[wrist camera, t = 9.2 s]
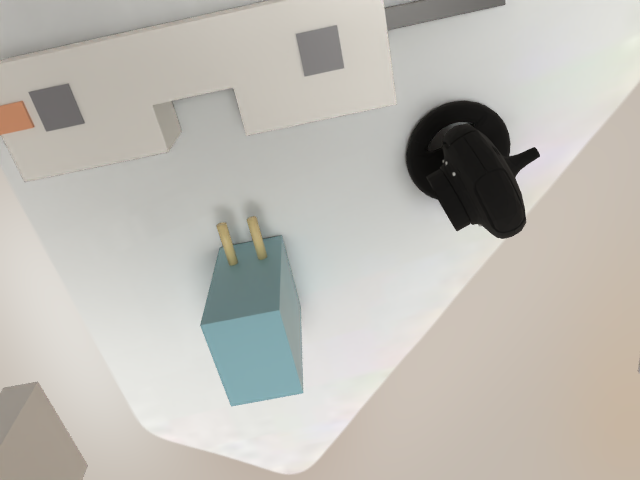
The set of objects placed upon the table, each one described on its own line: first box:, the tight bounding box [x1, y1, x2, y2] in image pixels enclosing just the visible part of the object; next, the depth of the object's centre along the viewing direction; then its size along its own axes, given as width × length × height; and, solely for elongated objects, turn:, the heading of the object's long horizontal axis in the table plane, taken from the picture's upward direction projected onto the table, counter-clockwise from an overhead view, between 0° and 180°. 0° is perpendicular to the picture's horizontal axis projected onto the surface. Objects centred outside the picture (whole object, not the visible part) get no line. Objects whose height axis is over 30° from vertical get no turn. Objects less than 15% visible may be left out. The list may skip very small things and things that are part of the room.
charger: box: [200, 216, 303, 406], centre depth 37 cm, size 10×5×10 cm, turn 11°
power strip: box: [0, 0, 505, 182], centre depth 33 cm, size 7×32×5 cm, turn 101°
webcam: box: [406, 101, 540, 239], centre depth 34 cm, size 8×8×10 cm
